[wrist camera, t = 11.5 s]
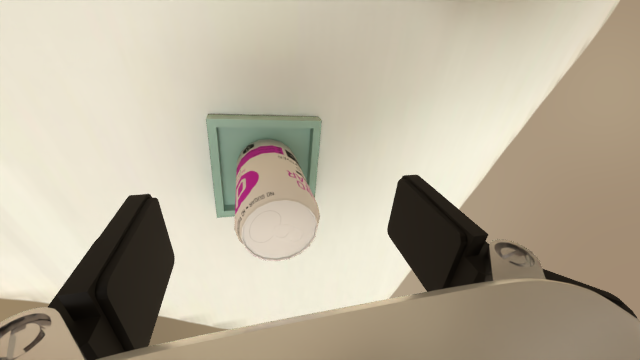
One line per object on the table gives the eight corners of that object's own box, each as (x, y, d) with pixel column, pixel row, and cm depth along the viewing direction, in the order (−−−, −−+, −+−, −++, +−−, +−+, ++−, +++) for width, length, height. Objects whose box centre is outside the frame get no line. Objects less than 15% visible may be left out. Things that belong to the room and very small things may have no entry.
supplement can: (227, 179, 36) (219, 255, 24) (251, 127, 34) (258, 180, 21) (279, 197, 40) (298, 272, 27) (305, 151, 37) (339, 210, 25)
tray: (317, 116, 36) (321, 120, 34) (310, 202, 42) (313, 210, 41) (208, 114, 32) (206, 118, 30) (218, 208, 39) (217, 217, 37)
